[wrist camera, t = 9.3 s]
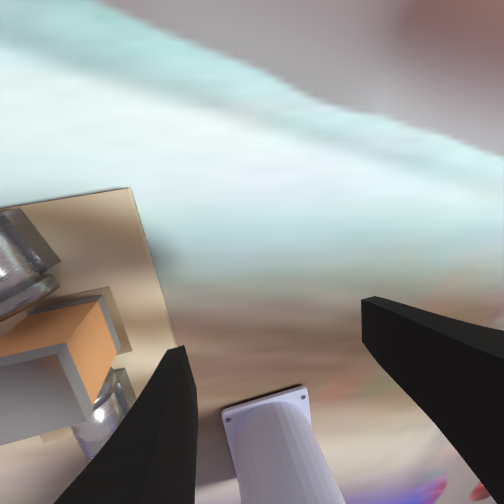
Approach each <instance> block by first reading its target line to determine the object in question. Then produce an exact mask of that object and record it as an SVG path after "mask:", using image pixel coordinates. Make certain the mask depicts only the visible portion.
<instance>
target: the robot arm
mask: <svg viewBox="0 0 504 504" xmlns="http://www.w3.org/2000/svg"><path fill="white" fill-rule="evenodd" d="M361 314H362V342H363V343H364V345H365V346H366V348H367V349H368V350H369V352H370V353H371V355H372V356H373V357H374V358H375V360H376V361H377V362H378V364H379V365H380V366H381V367H382V368H383V369H384V370H385V371H386V372H387V373H388V374H389V375H390V376H391V377H392V379H393V380H394V381H395V382H396V383H397V384H398V385H399V386H400V387H401V388H402V389H403V390H404V391H405V392H406V393H407V394H408V395H409V396H410V397H411V398H412V399H413V401H414V402H415V403H416V404H417V405H418V406H419V407H420V408H421V409H422V410H423V411H424V412H425V413H426V414H427V415H428V416H429V418H430V419H431V420H432V421H433V422H434V423H435V424H436V425H437V427H438V428H439V429H440V430H441V432H442V433H443V434H444V435H445V437H446V438H447V439H448V440H449V442H450V443H451V444H452V445H453V447H454V448H455V449H456V450H457V451H458V453H459V454H460V455H461V457H463V459H464V460H465V462H466V463H467V464H468V466H469V467H470V468H471V470H472V471H473V472H474V473H475V475H476V476H477V477H478V479H479V480H480V481H481V483H482V484H483V485H484V486H485V488H486V489H487V490H488V492H489V493H490V495H491V496H492V497H493V499H494V500H495V501H496V503H497V504H504V331H502V330H497V329H492V328H488V327H483V326H479V325H475V324H471V323H467V322H463V321H460V320H456V319H452V318H448V317H445V316H441V315H438V314H434V313H431V312H428V311H424V310H421V309H418V308H415V307H411V306H408V305H405V304H402V303H398V302H395V301H392V300H388V299H385V298H381V297H376V296H373V297H370V298H366V299H362V300H361ZM302 395H303V396H302ZM221 415H222V420H223V424H224V428H225V432H226V436H227V440H228V444H229V448H230V452H231V456H232V460H233V464H234V468H235V472H236V475H237V479H238V483H239V490H240V497H241V504H346V503H345V501H344V499H343V496H342V494H341V492H340V490H339V488H338V485H337V483H336V481H335V479H334V477H333V474H332V472H331V470H330V468H329V466H328V464H327V461H326V459H325V457H324V455H323V453H322V450H321V448H320V446H319V444H318V442H317V439H316V437H315V435H314V433H313V431H312V427H311V418H310V409H309V400H308V391H307V389H306V387H305V386H299V387H295V388H292V389H289V390H285V391H282V392H279V393H275V394H272V395H269V396H265V397H262V398H259V399H256V400H252V401H249V402H246V403H242V404H239V405H236V406H232V407H229V408H226V409H224V410H223V411H222V413H221ZM227 418H229V419H227ZM197 432H198V406H197V391H196V385H195V382H194V378H193V375H192V371H191V368H190V364H189V361H188V357H187V354H186V350H185V347H184V345H183V346H179V347H176V348H172V349H168V350H167V351H166V352H165V354H164V356H163V357H162V359H161V361H160V362H159V364H158V366H157V368H156V369H155V371H154V373H153V374H152V376H151V378H150V379H149V381H148V382H147V384H146V386H145V387H144V389H143V390H142V392H141V394H140V395H139V397H138V398H137V400H136V401H135V403H134V404H133V406H132V407H131V409H130V410H129V412H128V413H127V414H126V416H125V417H124V419H123V420H122V422H121V423H120V425H119V426H118V427H117V429H116V430H115V431H114V433H113V434H112V435H111V437H110V438H109V439H108V441H107V442H106V443H105V445H104V446H103V447H102V448H101V449H100V451H99V452H98V453H97V454H96V456H95V457H94V458H93V459H92V461H91V462H90V463H89V464H88V465H87V467H86V468H85V469H84V470H83V471H82V472H81V473H80V475H79V476H78V477H77V478H76V479H75V480H74V481H73V482H72V483H71V485H70V486H69V487H68V488H67V489H66V490H65V491H64V492H63V494H62V495H61V496H60V497H59V498H58V499H57V500H56V501H55V503H54V504H194V503H195V474H196V453H197Z"/></svg>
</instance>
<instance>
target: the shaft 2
mask: <svg viewBox="0 0 504 504" xmlns="http://www.w3.org/2000/svg"><path fill="white" fill-rule="evenodd" d="M136 400H137V398H136V395H135V392H134V390H133V387H132V385H131V382H130V379H129V377H128V374H127V371H126V369H125V368H121V369H117V370H113V368H112V367H110V369H109V371H108V374H107V376H106V378H105V380H104V383H103V385H102V387H101V389H100V392H99V394H98V396H97V398H96V401H95V403H94V405H93V407H94V409H93V411H92V413H91V416H90V418H89V420H88V422H84V423H81V424H77V425H73V426H70V428H71V430H72V432H73V434H74V436H75V438H76V440H77V442H78V444H79V446H80V448H81V449H82V451H83V453H84V455H85V457H87V458H89V459H93V458H94V457H95V456H96V454H97V453H98V452H99V451H100V449H101V448H102V447H103V446H104V445H105V443H106V442H107V441H108V439H109V438H110V437H111V435H112V434H113V433H114V431H115V430H116V429H117V427H118V426H119V425H120V423H121V422H122V420H123V419H124V417H125V416H126V414H127V413H128V412H129V410H130V409H131V407H132V406H133V404H134V403H135V401H136Z"/></svg>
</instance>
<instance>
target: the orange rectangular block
mask: <svg viewBox="0 0 504 504" xmlns="http://www.w3.org/2000/svg"><path fill="white" fill-rule="evenodd" d="M120 347H121V344H120V341H119V339H118V336H117V333H116V330H115V327H114V325H113V322H112V319H111V316H110V313H109V311H108V308H107V305H106V302H105V299H104V297H103V295H98V296H93V297H88V298H83V299H78V300H74V301H69V302H64V303H59V304H54V305H49V306H44V307H39V308H35V309H33V310H32V311H31V312H30V313H29V314H27V317H26V318H24V319H23V320H22V321H21V322H20V323H18V324H17V325H16V326H15V327H14V328H13V329H11V330H10V331H9V332H8V333H7V334H5V335H4V336H3V337H2V338H1V339H0V446H1V445H4V444H8V443H12V442H15V441H19V440H22V439H26V438H30V437H33V436H37V435H41V434H44V433H48V432H52V431H55V430H59V429H62V428H66V427H70V426H73V425H77V424H81V423H84V422H88V420H89V418H90V416H91V413H92V411H93V409H94V407H93V405H94V403H95V401H96V398H97V396H98V394H99V392H100V389H101V387H102V385H103V383H104V380H105V378H106V376H107V374H108V371H109V369H110V367H111V365H112V362H113V360H114V358H115V356H116V353H118V352H119V349H120Z"/></svg>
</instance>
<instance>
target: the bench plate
mask: <svg viewBox="0 0 504 504" xmlns="http://www.w3.org/2000/svg"><path fill="white" fill-rule="evenodd" d="M20 208H21V209H22V211H23V212H24V213H25V214H26V216H27V217H28V218H29V220H30V221H31V222H32V224H33V225H34V226H35V227H36V229H37V230H38V231H39V233H40V234H41V235H42V237H43V238H44V239H45V240H46V242H47V243H48V244H49V246H50V247H51V248H52V250H53V251H54V252H55V253H56V255H57V256H58V257H59V259H60V260H61V262H59V263H58V264H56V265H54V266H53V267H51V268H50V269H48V270H46V271H44V272H42V273H41V275H42V276H44V275H47V274H50V273H51V274H52V275H53V276H54V277H55V279H56V280H57V281H58V282H59V284H60V286H59V288H57V289H56V290H55V291H54V292H52V293H51V294H49V295H48V296H46V297H45V298H43V299H42V300H40V301H39V302H37V303H35V304H34V305H32V306H30V307H29V308H27V309H25V310H23V311H22V312H20V313H18V314H16V315H14V316H12V317H10V318H8V319H6V320H4V321H2V322H0V339H1V338H2V337H3V336H4V335H5V334H7V333H8V332H9V331H10V330H11V329H13V328H14V327H15V326H16V325H17V324H18V323H20V322H21V321H22V320H23V319H24V318H26V317H27V314H29V313H30V312H31V311H32V310H33V309H35V308H39V307H44V306H49V305H54V304H59V303H64V302H69V301H74V300H78V299H83V298H88V297H93V296H98V295H103V297H104V299H105V302H106V305H107V308H108V311H109V313H110V316H111V319H112V322H113V325H114V327H115V330H116V333H117V336H118V339H119V341H120V344H121V347H120V349H119V352H118V353H116V356H115V358H114V360H113V362H112V365H111V367H112V368H113V370H117V369H121V368H125V369H126V371H127V374H128V377H129V379H130V382H131V385H132V387H133V390H134V392H135V395H136V398H138V397H139V395H140V394H141V392H142V390H143V389H144V387H145V386H146V384H147V382H148V381H149V379H150V378H151V376H152V374H153V373H154V371H155V369H156V368H157V366H158V364H159V362H160V361H161V359H162V357H163V356H164V354H165V352H166V351H167V350H168V349H172V348H176V347H178V346H177V343H176V339H175V336H174V332H173V329H172V325H171V322H170V319H169V315H168V312H167V308H166V305H165V302H164V298H163V295H162V291H161V288H160V284H159V281H158V278H157V274H156V271H155V267H154V264H153V261H152V257H151V254H150V250H149V247H148V243H147V240H146V237H145V233H144V230H143V226H142V223H141V219H140V216H139V213H138V209H137V206H136V202H135V199H134V196H133V192H132V189H131V188H127V189H121V190H115V191H108V192H102V193H96V194H90V195H84V196H78V197H71V198H65V199H59V200H53V201H47V202H41V203H34V204H28V205H22V206H16V207H10V208H3V209H0V213H1V212H5V211H10V210H15V209H20ZM70 435H73V432H72V430H71V428H70V427H66V428H62V429H59V430H55V431H52V432H48V433H44V434H41V435H40V437H41V439H42V440H43V442H44V443H46V442H49V441H53V440H56V439H60V438H63V437H66V436H70Z"/></svg>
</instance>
